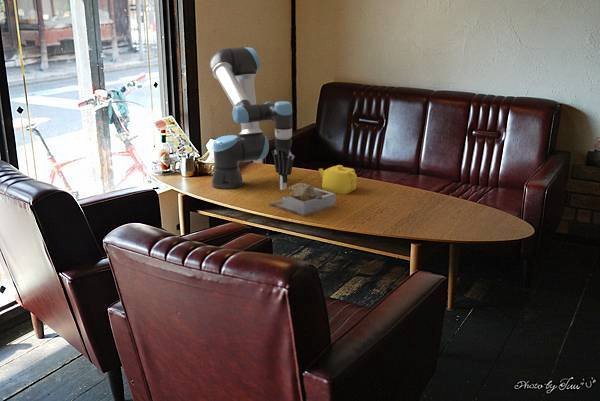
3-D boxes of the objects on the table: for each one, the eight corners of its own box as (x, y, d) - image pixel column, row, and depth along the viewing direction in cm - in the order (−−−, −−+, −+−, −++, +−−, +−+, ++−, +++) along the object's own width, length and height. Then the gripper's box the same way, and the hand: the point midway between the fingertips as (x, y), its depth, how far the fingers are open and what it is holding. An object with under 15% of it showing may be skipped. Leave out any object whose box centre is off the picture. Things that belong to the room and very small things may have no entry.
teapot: (312, 189, 304) (312, 165, 301) (325, 183, 314) (326, 159, 311) (349, 196, 294) (350, 171, 290) (362, 189, 304) (363, 165, 300)
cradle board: (268, 205, 282) (268, 202, 281) (299, 196, 294) (299, 193, 294) (304, 217, 267) (304, 214, 266) (335, 206, 279) (335, 204, 279)
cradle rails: (282, 207, 275) (282, 195, 273) (313, 197, 288) (313, 186, 286) (305, 214, 266) (305, 202, 264) (336, 204, 278) (336, 192, 277)
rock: (297, 198, 267) (313, 182, 271) (280, 193, 277) (295, 178, 281) (310, 216, 273) (324, 200, 277) (292, 211, 283) (306, 196, 286)
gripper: (266, 136, 282) (267, 187, 290) (287, 141, 273) (287, 194, 281) (279, 133, 287) (279, 184, 295) (299, 138, 278) (299, 190, 286)
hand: (283, 188), depth 288 cm, fingers closed
